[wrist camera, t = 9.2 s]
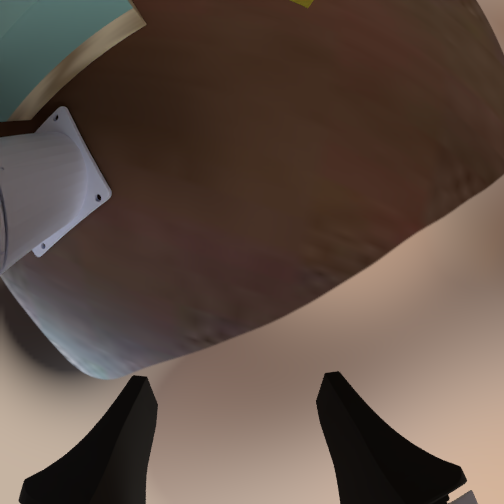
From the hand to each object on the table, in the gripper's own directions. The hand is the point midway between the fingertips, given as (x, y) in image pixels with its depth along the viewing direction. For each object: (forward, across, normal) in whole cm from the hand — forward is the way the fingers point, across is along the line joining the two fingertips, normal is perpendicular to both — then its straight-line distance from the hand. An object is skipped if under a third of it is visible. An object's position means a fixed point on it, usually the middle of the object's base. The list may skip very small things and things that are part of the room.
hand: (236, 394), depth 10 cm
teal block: (+7, +12, -17) cm, 22 cm away
